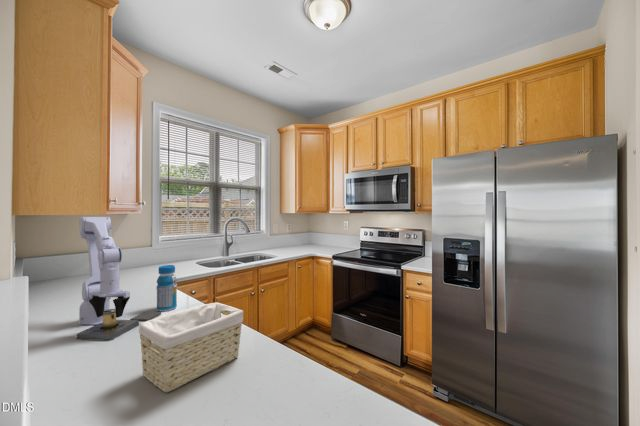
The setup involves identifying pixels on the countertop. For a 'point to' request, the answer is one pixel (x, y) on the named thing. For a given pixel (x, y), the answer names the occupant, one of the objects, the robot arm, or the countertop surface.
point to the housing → (109, 334)
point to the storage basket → (189, 343)
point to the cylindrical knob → (109, 319)
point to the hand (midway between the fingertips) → (109, 316)
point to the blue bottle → (166, 288)
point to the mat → (146, 316)
